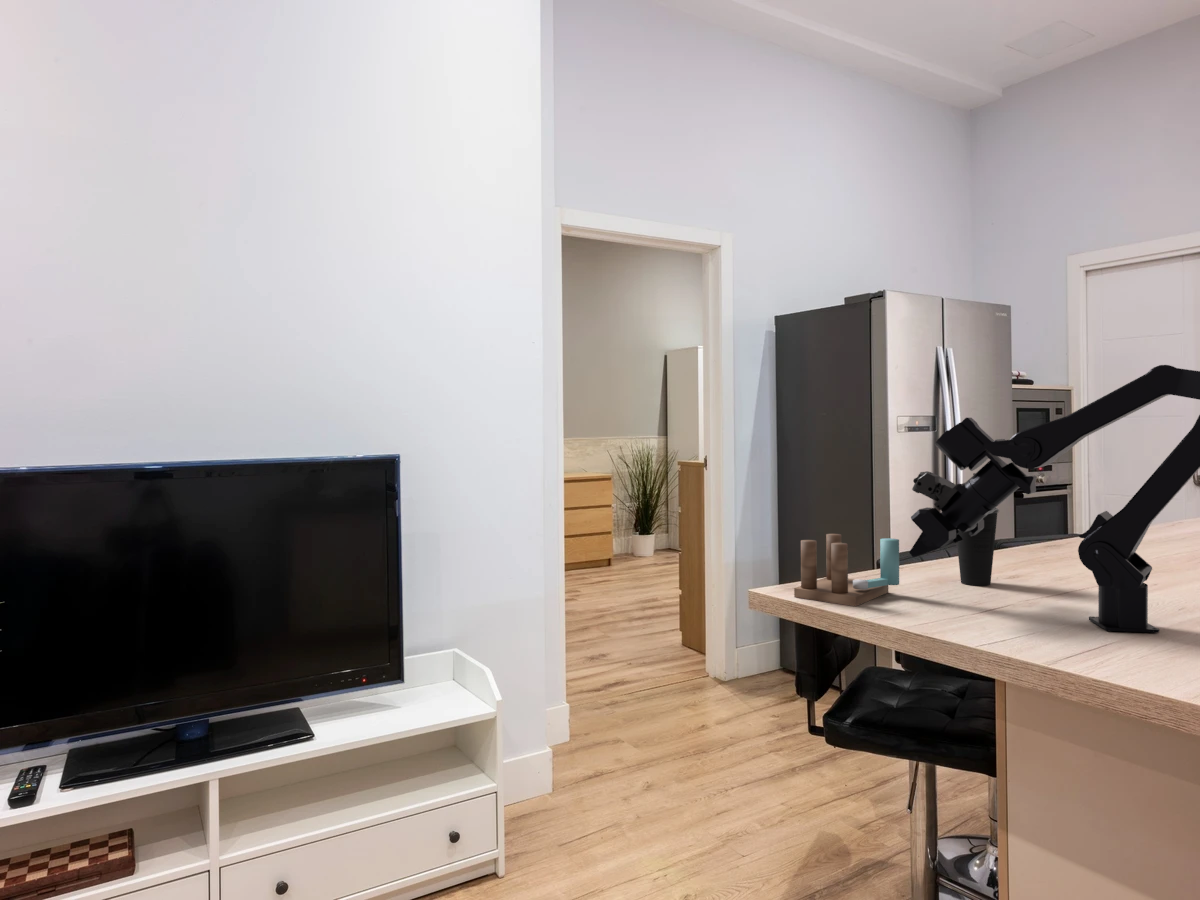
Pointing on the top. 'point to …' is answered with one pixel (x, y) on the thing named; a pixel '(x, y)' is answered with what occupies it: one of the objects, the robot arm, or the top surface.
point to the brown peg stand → (831, 575)
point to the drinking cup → (978, 553)
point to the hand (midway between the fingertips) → (911, 554)
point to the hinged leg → (884, 566)
